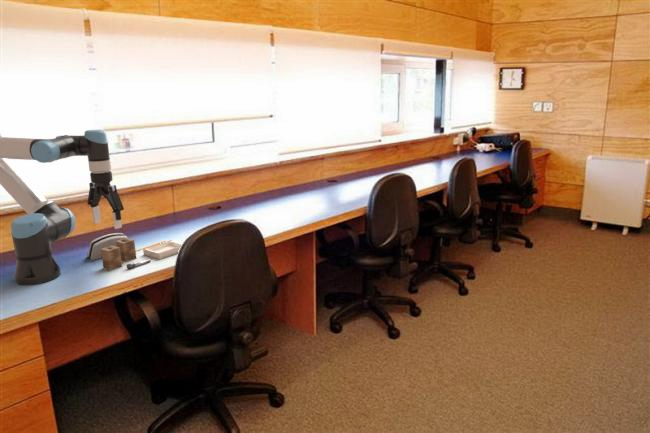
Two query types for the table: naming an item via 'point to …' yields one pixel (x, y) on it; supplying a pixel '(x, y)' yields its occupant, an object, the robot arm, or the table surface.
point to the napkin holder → (103, 244)
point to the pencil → (149, 246)
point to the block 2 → (126, 249)
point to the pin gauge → (137, 264)
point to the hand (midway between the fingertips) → (107, 225)
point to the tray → (162, 249)
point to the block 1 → (111, 257)
